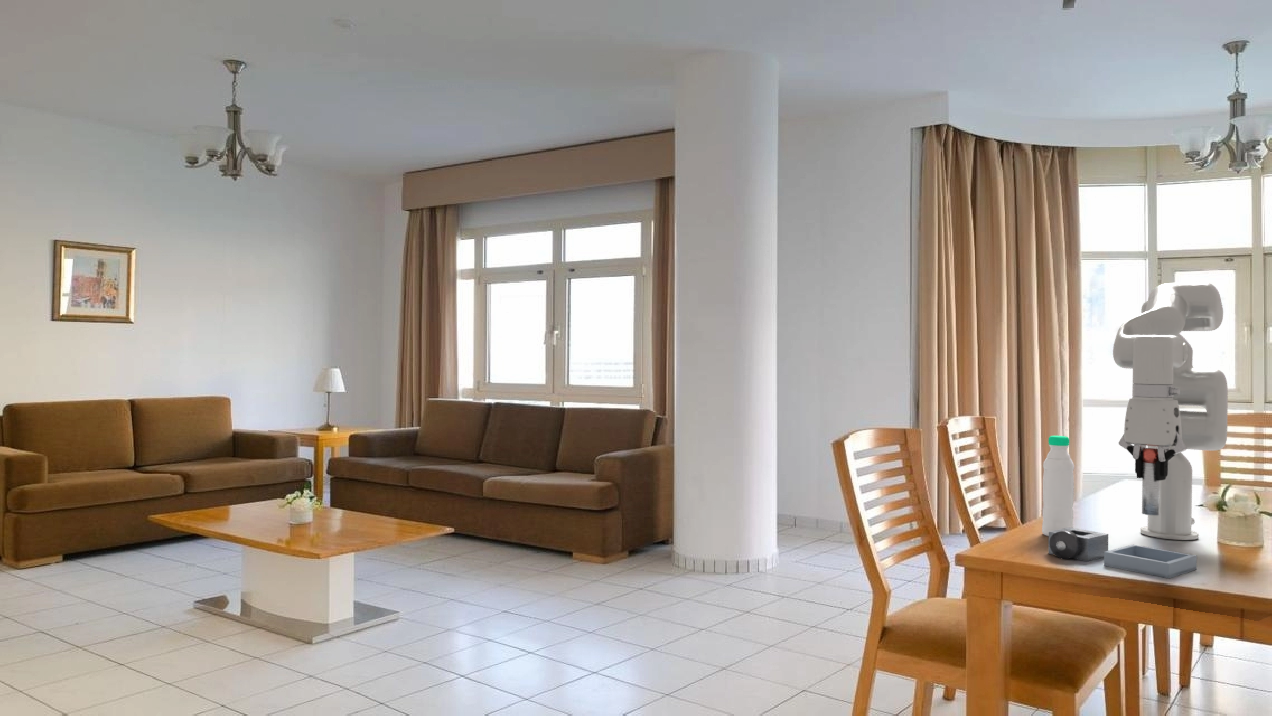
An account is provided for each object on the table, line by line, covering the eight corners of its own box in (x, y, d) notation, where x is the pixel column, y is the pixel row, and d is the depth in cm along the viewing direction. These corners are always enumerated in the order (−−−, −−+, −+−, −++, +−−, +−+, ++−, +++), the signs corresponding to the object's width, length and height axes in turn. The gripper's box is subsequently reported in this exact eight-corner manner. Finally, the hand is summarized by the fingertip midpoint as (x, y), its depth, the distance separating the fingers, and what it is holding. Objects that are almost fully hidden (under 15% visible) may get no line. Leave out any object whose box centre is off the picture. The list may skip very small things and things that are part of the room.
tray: (1132, 557, 200) (1133, 544, 200) (1196, 569, 190) (1196, 555, 190) (1104, 565, 193) (1104, 551, 192) (1168, 578, 182) (1168, 563, 182)
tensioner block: (1068, 548, 209) (1069, 523, 209) (1108, 556, 202) (1108, 529, 202) (1040, 555, 202) (1041, 528, 202) (1080, 563, 194) (1080, 535, 194)
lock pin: (1146, 512, 193) (1147, 447, 193) (1161, 514, 190) (1162, 448, 190) (1139, 513, 191) (1140, 448, 191) (1154, 515, 189) (1156, 449, 189)
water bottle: (1076, 539, 220) (1078, 437, 220) (1046, 537, 221) (1047, 437, 221) (1068, 533, 227) (1070, 435, 226) (1039, 532, 228) (1040, 434, 228)
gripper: (1202, 394, 186) (1201, 482, 186) (1121, 391, 200) (1120, 473, 200) (1186, 394, 182) (1185, 484, 182) (1104, 391, 195) (1103, 475, 195)
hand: (1151, 477), depth 191 cm, fingers closed on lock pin, 3 cm apart
